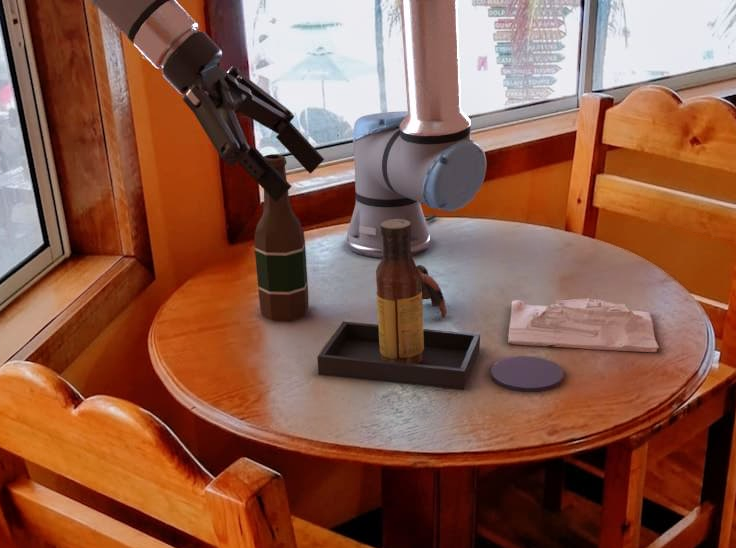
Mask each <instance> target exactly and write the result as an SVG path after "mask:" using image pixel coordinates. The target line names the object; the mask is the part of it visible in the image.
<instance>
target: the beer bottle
mask: <svg viewBox="0 0 736 548" xmlns="http://www.w3.org/2000/svg"><path fill="white" fill-rule="evenodd" d="M263 156H264V157H265V158H266V160H267V161H268V162H269V163H270V164H271V165H272V166H273V167H274V168H275V169H276V170H277V171H278V172H279V173H280V174H281V176H282V177H283V178H284V179H285V180H286V181H287V182H288V180H287V171H286V165H287V163H288V162H287V160H286V157H285V156H283V155H281V154H278V153H277V154H276V153H275V154H274V153H273V154H272V153H270V154H266V155H263ZM262 211H263V212H262V215H261V217H260V219H259V220H258V223H257V224H256V228H255V232H254V254H255V267H256V278H257V289H258V299H259V300H258V301H259V307H260V314H261V316H262V317H264V318H266V319H267V320H270V321H272V322H293V321H296V320H299V319H302V318H305V317H306V315H307V312H308V310H309V283H308V268H307V251H306V239H305V231H304V228H303V225H302V223H301V221H300V220H299V218H298V216H297V215H296V214H295V213H294V212H293V209H292V205H291V202H290V195H289V190H288V191H287V192H286V193H285V194H284V195H283V196H282V197H281V198H280V199H279V201H277V202H276V201H275V200H274V199H273V198H272V197H271V196H270V195H269V194H268V193H267V192H266V191H265V190H264V189H263V210H262Z"/></svg>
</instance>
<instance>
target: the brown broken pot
mask: <svg viewBox="0 0 736 548" xmlns="http://www.w3.org/2000/svg"><path fill="white" fill-rule="evenodd" d="M416 267H417V269H418V270H419V272H420V281H421V288H422V301H423V300H425V301H426V300H429V299H430V302H431V307H438V310H439V311H440V315H441V318H442V319H446V317H447V313H448V311H447V307H446V300H445V297H444V295H443V294H444V293H443V292H442V290H441V288H440V285H439V284H438V283H437V281H436V280H435V279H434V278H433V277H431V276H430V275H429V272H428V270H427V268H426V267H425V266H424V265H421V264H418V265H416Z"/></svg>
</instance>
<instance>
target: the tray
mask: <svg viewBox="0 0 736 548" xmlns="http://www.w3.org/2000/svg"><path fill="white" fill-rule="evenodd" d="M423 337H424V350H423V360H422V362H421V363H420V364H410V363H400V362H390V361H382V357H381V353H380V343H379V325H378V323H377V324H376V323H367V322H355V321H345V320H343V321H342V322H341V323H340V325H339V326H338V328H337V329H336V330H335V332H333V334H332V336H331V337H330V338H329V340H328V341H327V343H326V344H325V345H324V346H323V348H322V350H321V351H320V352H319V354H318V355H317V359H316V360H317V375H319V376H328V377H337V378H338V377H339V378H347V379H357V380H366V381H376V382H384V383H385V382H386V383H387V382H388V383H395V384H405V385H414V386H425V387H433V388H434V387H435V388H443V389H453V390H460V391H461V390H462V391H464V390H465V388H466V386H467V383H468V381H469V378H470V376H471V373H472V372H473V368H474V367H475V364H476V361H477V359H478V356H479V354H480V352H481V351H480V348H481V333H472V332H461V331H452V330H440V329H431V328H430V329H429V328H423Z"/></svg>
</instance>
